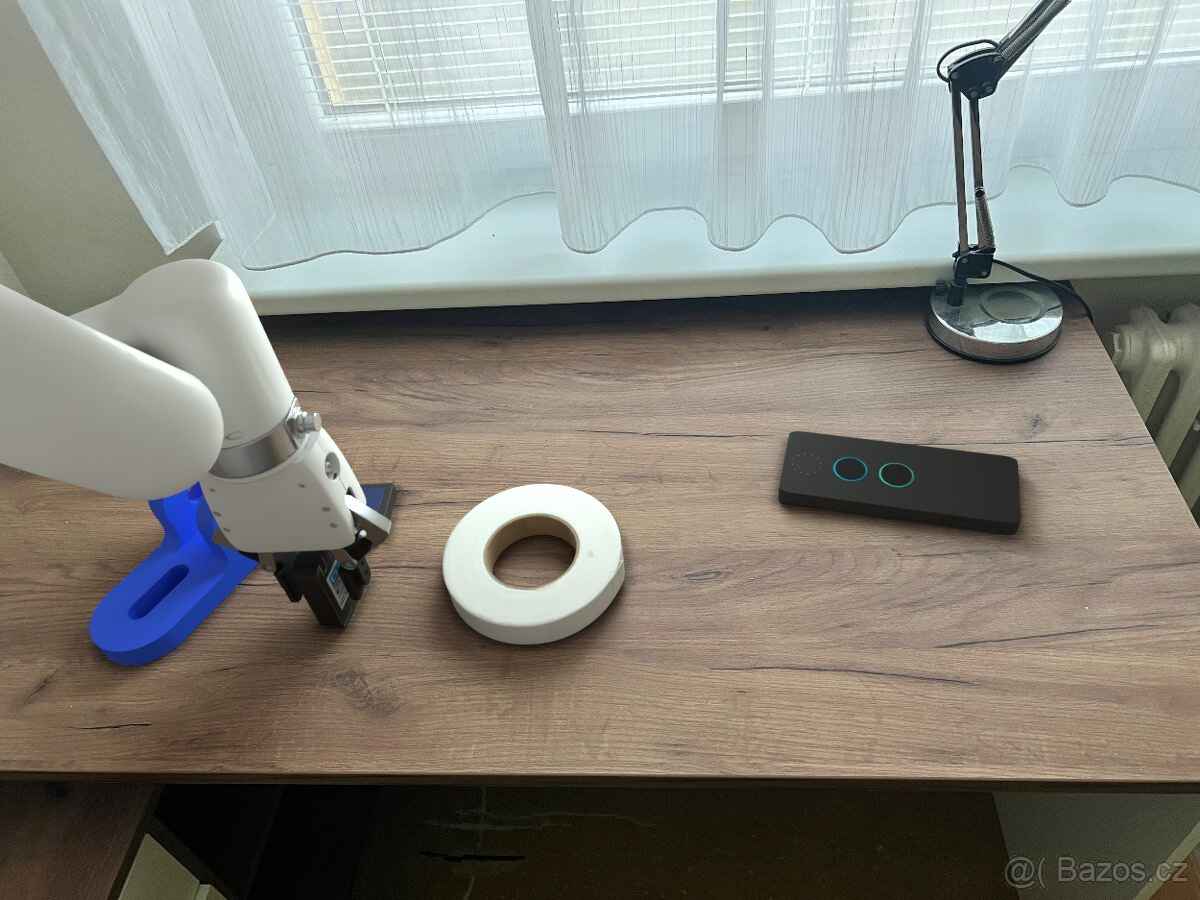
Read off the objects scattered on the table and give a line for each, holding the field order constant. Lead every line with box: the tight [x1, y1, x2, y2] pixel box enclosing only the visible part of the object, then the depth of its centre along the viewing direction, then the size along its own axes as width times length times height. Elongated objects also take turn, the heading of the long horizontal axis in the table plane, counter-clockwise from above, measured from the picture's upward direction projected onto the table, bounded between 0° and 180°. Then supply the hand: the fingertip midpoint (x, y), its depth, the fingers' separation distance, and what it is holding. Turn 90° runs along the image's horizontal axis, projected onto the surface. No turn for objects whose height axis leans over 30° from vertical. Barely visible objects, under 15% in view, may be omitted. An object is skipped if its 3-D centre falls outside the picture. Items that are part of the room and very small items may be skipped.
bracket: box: [89, 481, 260, 666], centre depth 76 cm, size 18×8×9 cm, turn 151°
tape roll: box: [442, 483, 626, 645], centre depth 75 cm, size 16×15×3 cm
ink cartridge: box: [291, 550, 359, 629], centre depth 73 cm, size 5×2×8 cm, turn 170°
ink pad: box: [354, 482, 398, 541], centre depth 82 cm, size 9×6×2 cm, turn 88°
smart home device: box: [777, 430, 1022, 536], centre depth 78 cm, size 8×2×20 cm
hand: (330, 586), depth 74 cm, fingers open, 4 cm apart
